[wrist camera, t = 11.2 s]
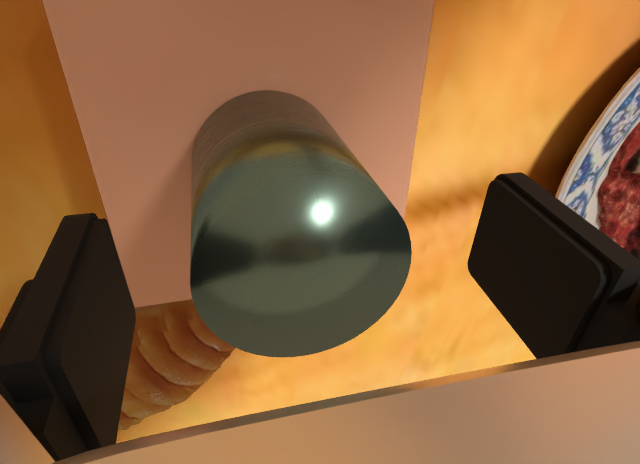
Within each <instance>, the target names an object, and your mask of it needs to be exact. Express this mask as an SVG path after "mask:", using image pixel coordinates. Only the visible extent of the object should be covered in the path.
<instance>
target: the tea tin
mask: <svg viewBox="0 0 640 464" xmlns="http://www.w3.org/2000/svg"><path fill="white" fill-rule="evenodd" d="M410 264H411V241H410V236H409V232H408V229H407V227H406V224H405V222H404V220H403V218H402V217H401V215H400V214H399V212H398V210H397V209H396V208H395V207H394V205H393V204H392V203H391V201H390V200H389V199H388V198H387V196H386V195H385V194H384V193H383V191H382V190H381V189H380V187H379V186H378V185H377V184H376V182H375V181H374V180H373V178H372V177H371V176H370V175H369V173H368V172H367V171H366V170H365V168H364V167H363V166H362V164H361V163H360V162H359V161H358V159H357V158H356V157H355V155H354V154H353V153H352V152H351V150H350V149H349V148H348V147H347V145H346V144H345V143H344V141H343V140H342V139H341V138H340V136H339V135H338V134H337V132H336V131H335V130H334V129H333V127H332V126H331V125H330V124H329V122H328V121H327V120H326V118H325V117H324V116H323V115H322V114H321V113H320V112H319V110H317V109H316V108H315V107H314V106H313V105H312V104H310V103H309V102H307V101H305V100H304V99H302V98H300V97H298V96H295V95H293V94H289V93H286V92H281V91H275V90H261V91H253V92H249V93H245V94H242V95H239V96H237V97H234V98H232V99H230V100H229V101H227V102H225V103H223V104H222V105H221V106H220V107H218V108H217V109H216V110H215V111H214V112H213V113H212V114H211V115H210V116H209V117H208V118H207V119H206V121H205V122H204V123H203V125H202V127H201V128H200V130H199V132H198V134H197V137H196V140H195V142H194V147H193V152H192V184H191V251H190V288H191V296H192V299H193V303H194V306H195V308H196V310H197V312H198V314H199V316H200V318H201V319H202V321H203V322H204V324H205V325H206V326H207V327H208V328H209V329H210V330H211V331H212V332H213V333H214V334H215V335H216V336H217V337H219V338H220V339H221V340H223V341H224V342H226V343H228V344H230V345H231V346H233V347H235V348H238V349H240V350H243V351H245V352H249V353H253V354H256V355H262V356H269V357H296V356H304V355H309V354H314V353H318V352H322V351H325V350H328V349H331V348H334V347H336V346H338V345H341V344H343V343H345V342H347V341H349V340H351V339H353V338H355V337H356V336H358V335H359V334H361V333H362V332H364V331H365V330H367V329H368V328H369V327H371V326H372V325H373V324H374V323H376V322H377V321H378V320H379V319H380V318H381V317H382V316H383V315H384V314H385V313H386V312H387V310H388V309H389V308H390V307H391V306H392V304H393V303H394V301H395V300H396V299H397V297H398V296H399V294H400V292H401V290H402V288H403V286H404V284H405V281H406V279H407V276H408V272H409V268H410Z"/></svg>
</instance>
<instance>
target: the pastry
mask: <svg viewBox="0 0 640 464" xmlns="http://www.w3.org/2000/svg"><path fill="white" fill-rule="evenodd" d="M135 313H136V323H135V329H134V335H133V341H132V347H131V353H130V359H129V365H128V371H127V377H126V383H125V390H124V396H123V402H122V408H121V414H120V420H119V426H118V429H121V430H125V429H128V428H129V427H130V426H131V425H136V424H138V423H140V422H141V420H142V419H144V418H146V417H148V416H150V415H152V414H155V413H158V412H161V411H165V410H167V409H169V408H170V407H171V406H172V405H175V404H178V403H181V402H183V401H185V400H186V399H188V398H189V397H190V395H191V394H192V393H193V392H195V391H196V390H197V389H198V388H199V387H200V386H201V385H202V384H203V383H205V382H206V381H207V380H208V379H209V378H210V377H211V375H212V374H213V373H214V372H215V371H216V370H217V369H218V368H220V366H221V364H222V363H223V362H224V360H225V359H226V358H228V357H229V356H230V354H231V352H232V351H233V350H234V348H235V347H233V346H231V345H230V344H228V343H226V342H224V341H223V340H221V339H220V338H219V337H217V336H216V335H215V334H214V333H213V332H212V331H211V330H210V329H209V328H208V327H207V326H206V325H205V324H204V322H203V321H202V319H201V318H200V316H199V314H198V312H197V310H196V308H195V306H194V303H193V299H190V300H184V301H177V302H170V303H163V304H156V305H149V306H142V307H136V308H135Z"/></svg>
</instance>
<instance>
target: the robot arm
mask: <svg viewBox="0 0 640 464" xmlns="http://www.w3.org/2000/svg"><path fill="white" fill-rule="evenodd" d="M468 270H469V272H470V274H471V276H472V277H473V278H474V279H475V281H476V282H477V283H478V285H479V286H480V287H481V288H482V290H483V291H484V292H485V293H486V295H487V296H488V297H489V299H490V300H491V301H492V302H493V304H494V305H495V306H496V307H497V309H498V310H499V311H500V312H501V314H502V315H503V316H504V318H505V319H506V320H507V321H508V323H509V324H510V325H511V326H512V328H513V329H514V330H515V332H516V333H517V334H518V335H519V337H520V338H521V339H522V340H523V342H524V343H525V344H526V346H527V347H528V348H529V349H530V351H531V352H532V353H533V354H534V356H535V357H536V358H537V359H535V360H530V361H524V362H519V363H513V364H508V365H503V366H497V367H492V368H487V369H482V370H476V371H471V372H466V373H461V374H455V375H450V376H445V377H440V378H434V379H429V380H424V381H419V382H414V383H408V384H403V385H398V386H393V387H388V388H382V389H377V390H372V391H367V392H362V393H357V394H351V395H346V396H341V397H336V398H331V399H326V400H321V401H316V402H311V403H306V404H301V405H296V406H291V407H286V408H280V409H275V410H270V411H265V412H260V413H255V414H250V415H245V416H240V417H235V418H230V419H225V420H221V421H216V422H211V423H207V424H202V425H197V426H192V427H188V428H183V429H178V430H174V431H169V432H164V433H160V434H155V435H150V436H146V437H141V438H137V439H133V440H129V441H125V442H121V443H117V444H116V438H117V432H118V426H119V420H120V414H121V408H122V402H123V396H124V390H125V383H126V377H127V371H128V365H129V359H130V353H131V347H132V341H133V335H134V329H135V323H136V313H135V307H134V304H133V301H132V297H131V294H130V291H129V288H128V285H127V282H126V278H125V275H124V272H123V269H122V266H121V262H120V259H119V256H118V253H117V250H116V246H115V243H114V240H113V237H112V234H111V230H110V227H109V224H108V222H107V220H106V219H98V217H97V216H96V214H94V213H88V214H78V215H67V216H64V218H63V219H62V221H61V223H60V225H59V227H58V229H57V232H56V234H55V236H54V238H53V240H52V242H51V244H50V246H49V248H48V250H47V252H46V255H45V257H44V259H43V261H42V263H41V265H40V267H39V269H38V271H37V273H36V275H35V278H34V279H33V280H29V281H27V282H25V284H24V285H23V286H22V288H21V290H20V292H19V294H18V296H17V298H16V300H15V302H14V304H13V306H12V308H11V310H10V312H9V314H8V316H7V318H6V320H5V322H4V324H3V326H2V328H1V330H0V464H640V260H639V259H637V258H636V257H635V256H633V255H632V254H631V253H629V252H628V251H627V250H625V249H624V248H622V247H621V246H620V245H618V244H617V243H616V242H614V241H613V240H612V239H610V238H609V237H608V236H606V235H605V234H604V233H602V232H601V231H600V230H598V229H597V228H596V227H594V226H593V225H592V224H590V223H589V222H588V221H586V220H585V219H584V218H582V217H581V216H580V215H578V214H577V213H576V212H574V211H573V210H572V209H570V208H569V207H568V206H566V205H565V204H564V203H562V202H561V201H560V200H558V199H557V198H556V197H554V196H553V195H552V194H550V193H549V192H548V191H546V190H545V189H544V188H542V187H541V186H540V185H538V184H537V183H536V182H534V181H533V180H532V179H530V178H529V177H528V176H526V175H525V174H523V173H509V174H500V175H498V176H497V177H496V178H495V180H494V181H492V182H491V183H490V184H489V187H488V190H487V194H486V198H485V201H484V205H483V208H482V212H481V216H480V219H479V223H478V227H477V230H476V234H475V237H474V241H473V245H472V248H471V252H470V256H469V259H468Z"/></svg>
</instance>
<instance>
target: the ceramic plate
mask: <svg viewBox="0 0 640 464" xmlns="http://www.w3.org/2000/svg"><path fill="white" fill-rule="evenodd" d="M555 197H556V198H557V199H558V200H560V201H561V202H562V203H564V204H565V205H566V206H568V207H569V208H570V209H572V210H573V211H574V212H576V213H577V214H578V215H580V216H581V217H582V218H584V219H585V220H586V221H588V222H589V223H590V224H592V225H593V226H594V227H596V228H597V229H598V230H600V231H601V232H602V233H604V234H605V235H606V236H608V237H609V238H610V239H612V240H613V241H614V242H616V243H617V244H618V245H620V246H621V247H622V248H624V249H625V250H627V251H628V252H629V253H631V254H632V255H633V256H635V257H636V258H637V259H639V260H640V67H639V68H638V69H637V71H636V72H635V73H634V74H633V75H632V76H631V77H630V78H629V80H628V81H627V82H626V83H625V84H624V85H623V86H622V88H621V89H620V90H619V91H618V93H617V94H616V95H615V96H614V98H613V99H612V100H611V102H610V103H609V104H608V105H607V107H606V108H605V109H604V111H603V112H602V114H601V115H600V116H599V118H598V119H597V121H596V122H595V124H594V125H593V126H592V128H591V129H590V131H589V132H588V134H587V135H586V137H585V139H584V140H583V142H582V144H581V145H580V147H579V149H578V150H577V152H576V154H575V155H574V157H573V159H572V161H571V163H570V165H569V167H568V169H567V171H566V172H565V174H564V177H563V179H562V181H561V184H560V186H559V188H558V191H557V193H556V195H555Z"/></svg>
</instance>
